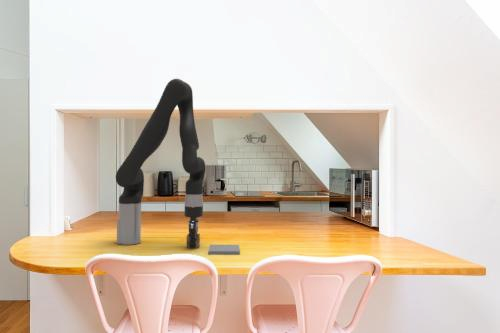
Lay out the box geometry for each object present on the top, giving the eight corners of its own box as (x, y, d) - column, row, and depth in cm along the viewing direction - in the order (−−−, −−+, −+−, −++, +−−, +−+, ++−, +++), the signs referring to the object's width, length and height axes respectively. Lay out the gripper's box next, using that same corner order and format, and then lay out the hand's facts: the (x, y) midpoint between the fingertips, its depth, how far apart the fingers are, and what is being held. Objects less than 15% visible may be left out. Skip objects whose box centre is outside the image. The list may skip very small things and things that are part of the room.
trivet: (208, 254, 147) (208, 251, 147) (209, 247, 159) (209, 244, 159) (239, 254, 148) (239, 251, 148) (239, 247, 160) (239, 244, 160)
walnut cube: (186, 248, 157) (186, 236, 157) (187, 245, 162) (187, 233, 162) (198, 248, 158) (199, 236, 158) (199, 245, 163) (199, 233, 163)
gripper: (186, 203, 167) (186, 242, 167) (182, 206, 152) (181, 249, 153) (204, 203, 167) (203, 242, 167) (201, 207, 153) (201, 249, 153)
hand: (193, 245), depth 160 cm, fingers closed on walnut cube, 5 cm apart
